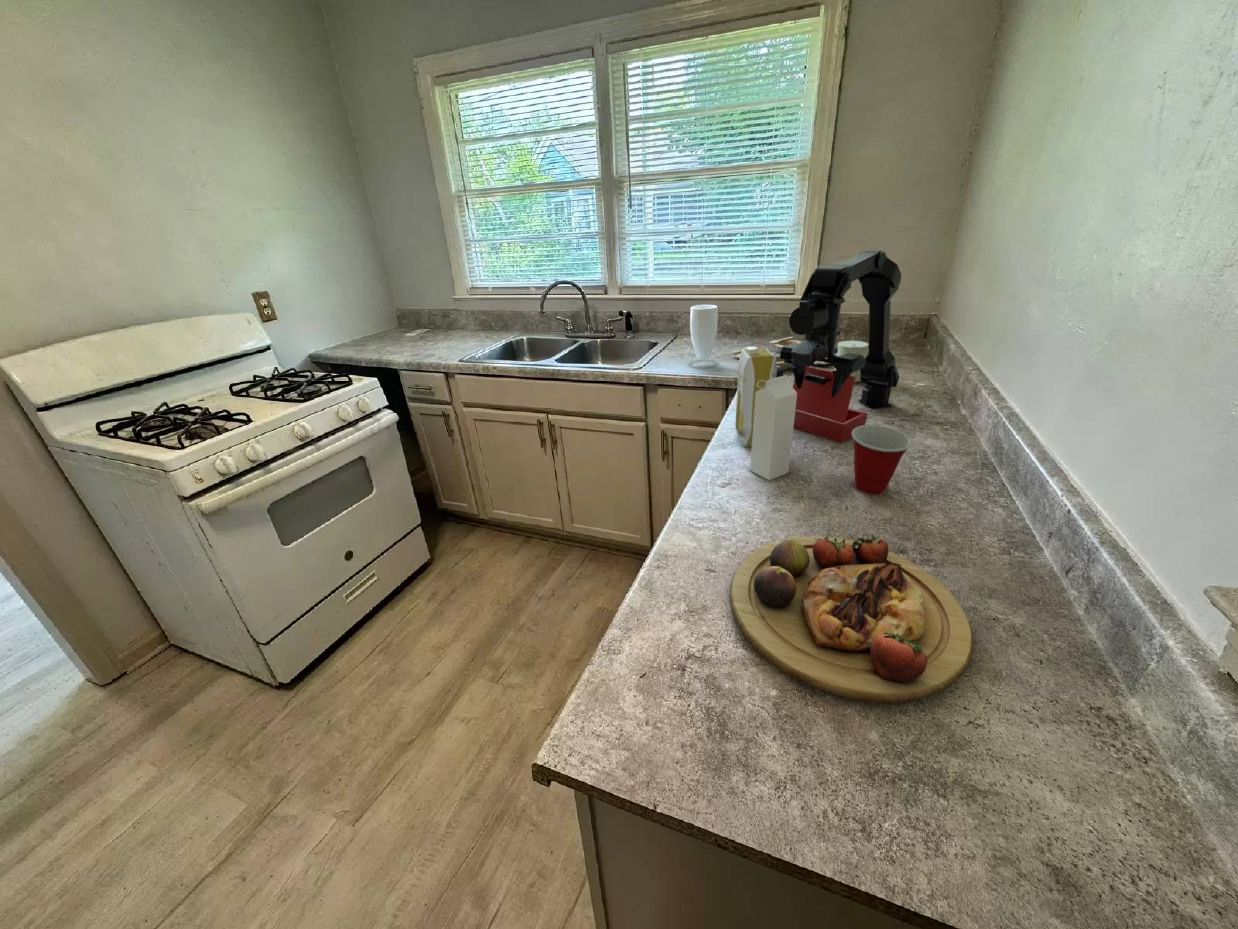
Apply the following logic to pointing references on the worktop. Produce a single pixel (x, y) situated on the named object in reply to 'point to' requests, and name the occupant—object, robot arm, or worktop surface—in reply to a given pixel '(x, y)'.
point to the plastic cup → (877, 456)
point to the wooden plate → (851, 618)
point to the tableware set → (780, 344)
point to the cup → (703, 329)
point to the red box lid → (823, 395)
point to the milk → (773, 428)
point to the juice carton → (751, 387)
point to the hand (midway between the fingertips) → (815, 392)
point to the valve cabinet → (830, 424)
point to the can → (853, 352)
